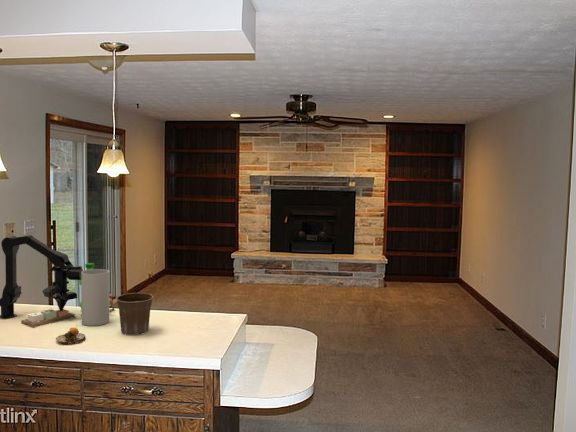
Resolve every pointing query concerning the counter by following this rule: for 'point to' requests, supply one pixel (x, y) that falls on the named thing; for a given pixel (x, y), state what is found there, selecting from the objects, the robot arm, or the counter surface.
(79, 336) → the mossy decorative centerpiece
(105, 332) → the counter surface
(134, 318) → the plant pot
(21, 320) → the walnut board
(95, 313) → the cylinder vase
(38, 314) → the tile one pip
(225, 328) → the counter surface
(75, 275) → the robot arm
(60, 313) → the tile three pips
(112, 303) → the lion figurine
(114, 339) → the counter surface
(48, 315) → the tile two pips
